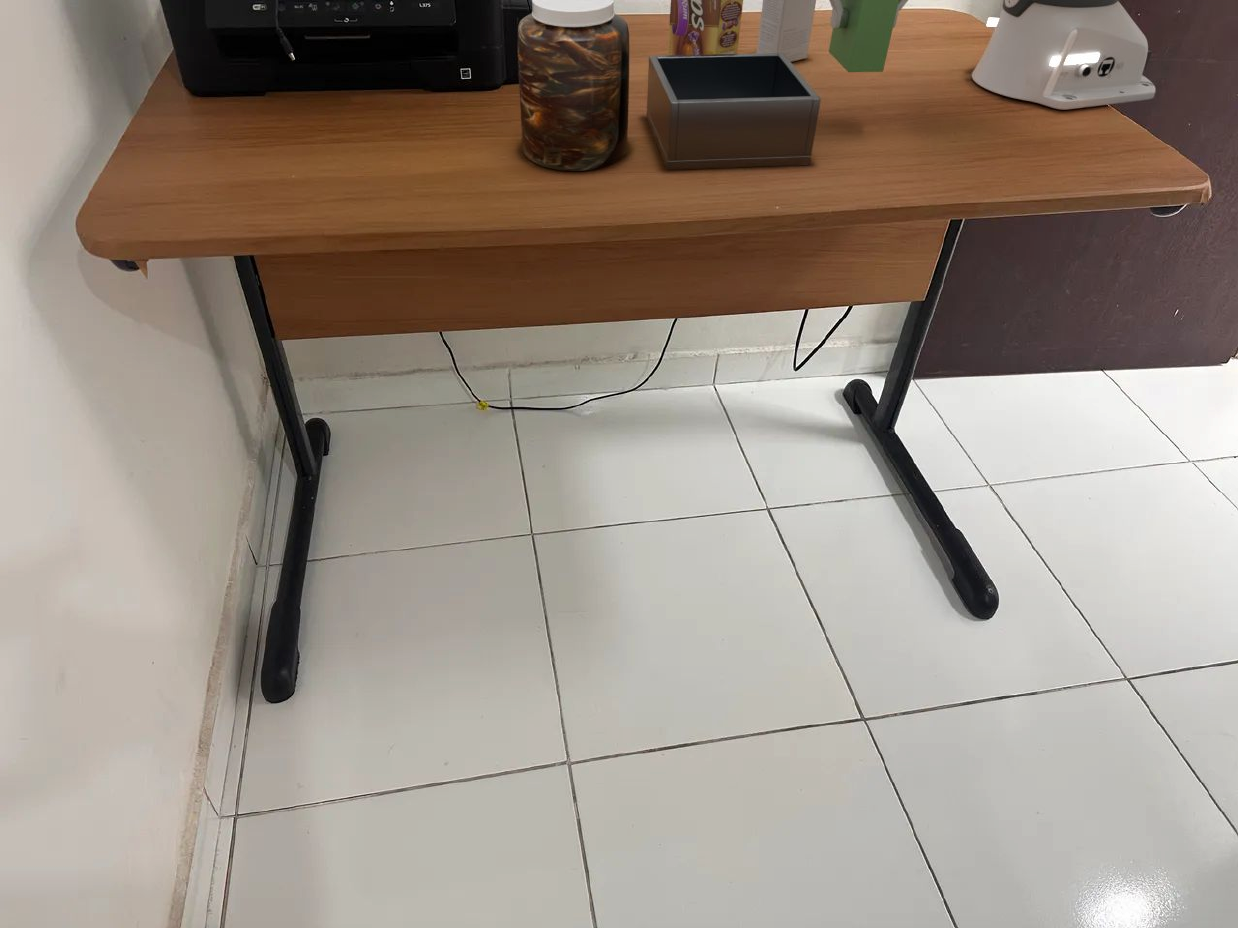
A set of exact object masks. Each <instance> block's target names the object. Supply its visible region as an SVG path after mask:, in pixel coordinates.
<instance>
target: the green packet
mask: <svg viewBox="0 0 1238 928" xmlns="http://www.w3.org/2000/svg"><path fill="white" fill-rule="evenodd" d="M898 3H899V0H841V4H842V7H846V8H847V9H848V10H849V11H850V17H849V20H848V26H847V28H838V29H834V28H833V27H832V31H831V37H830V42H829V47H828V53H829V54H830V55H831V56H832V57H833V58H834V59H835V60H836V61H837V62H838V63H839V64H840V66H842V67H843V68H844V69H845V70H846V72H848V73H878V72H879V73H883V72H884V70H885V66H886V60H887V56H888V52H889V47H890V44H891V43H890V42H891V38H892V33H893V29H894V28H893V25H894V21H895V16H896V12H897V7H898Z"/></svg>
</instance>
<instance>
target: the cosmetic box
mask: <svg viewBox="0 0 1238 928" xmlns="http://www.w3.org/2000/svg"><path fill="white" fill-rule="evenodd" d="M816 4H817V0H762V5H761V14H760V20H759V30H758V36H757V47H756V53H783V54H784V55H785V56H786V57H787V58H788V60H789V61H790V62H791V63H792V62H795V61H799V60H803V59H807V58H808V53H809V47H810V42H811V35H812V30H813V29H812V28H813V23H814V22H813V21H814V17H815V9H816Z"/></svg>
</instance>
